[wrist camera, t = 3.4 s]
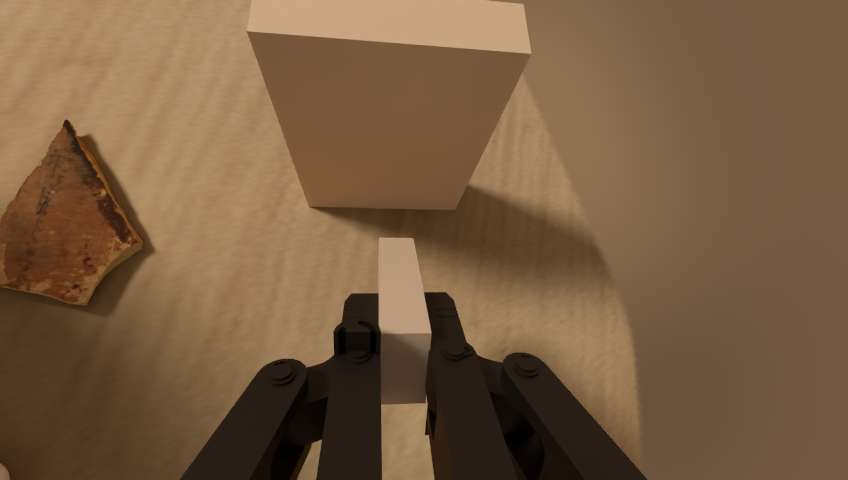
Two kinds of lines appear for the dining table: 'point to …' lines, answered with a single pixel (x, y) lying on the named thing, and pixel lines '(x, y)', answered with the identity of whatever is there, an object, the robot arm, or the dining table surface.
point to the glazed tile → (388, 93)
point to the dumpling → (4, 473)
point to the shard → (64, 226)
